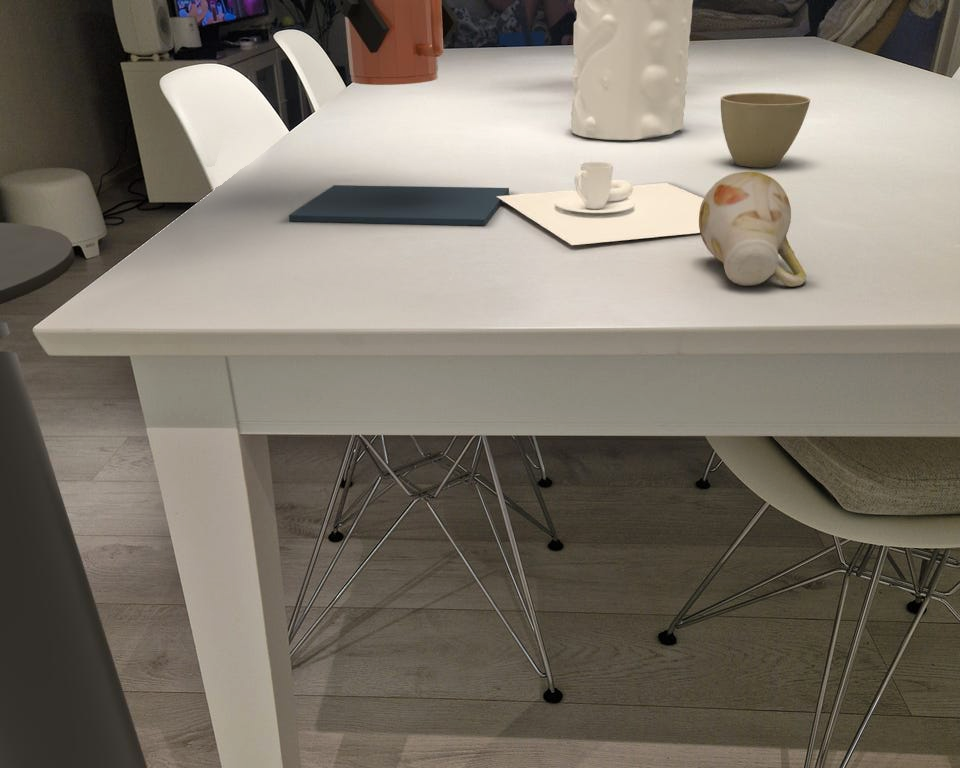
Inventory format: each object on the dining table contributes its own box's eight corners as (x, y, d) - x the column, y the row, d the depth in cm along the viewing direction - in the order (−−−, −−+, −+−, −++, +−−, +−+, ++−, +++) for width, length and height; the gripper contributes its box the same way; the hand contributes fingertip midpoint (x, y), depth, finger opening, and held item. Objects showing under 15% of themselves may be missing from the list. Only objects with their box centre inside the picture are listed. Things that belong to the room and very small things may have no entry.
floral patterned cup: (705, 297, 69) (687, 164, 69) (712, 315, 79) (696, 198, 78) (810, 276, 67) (792, 137, 66) (804, 297, 76) (788, 176, 76)
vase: (559, 125, 138) (563, -141, 120) (665, 120, 139) (685, -144, 121) (580, 145, 123) (589, -154, 106) (698, 139, 124) (727, -157, 107)
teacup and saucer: (619, 195, 96) (622, 154, 94) (655, 213, 90) (659, 168, 88) (541, 202, 94) (543, 159, 92) (573, 220, 87) (575, 175, 85)
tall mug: (334, 80, 90) (321, -54, 84) (401, 72, 94) (393, -56, 88) (407, 89, 83) (398, -57, 77) (476, 80, 87) (473, -59, 81)
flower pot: (746, 175, 105) (755, 106, 101) (697, 160, 112) (703, 96, 108) (818, 166, 108) (829, 99, 104) (765, 153, 115) (774, 89, 111)
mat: (289, 221, 92) (288, 215, 92) (334, 190, 104) (333, 185, 103) (484, 225, 89) (484, 219, 88) (509, 193, 100) (509, 187, 100)
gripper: (352, -123, 95) (472, 57, 95) (175, -131, 82) (313, 79, 82) (384, -194, 90) (511, -2, 89) (198, -215, 76) (346, 11, 76)
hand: (416, 37), depth 86 cm, fingers closed on tall mug, 8 cm apart
